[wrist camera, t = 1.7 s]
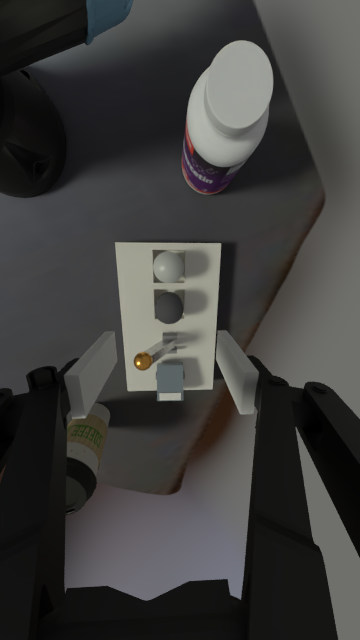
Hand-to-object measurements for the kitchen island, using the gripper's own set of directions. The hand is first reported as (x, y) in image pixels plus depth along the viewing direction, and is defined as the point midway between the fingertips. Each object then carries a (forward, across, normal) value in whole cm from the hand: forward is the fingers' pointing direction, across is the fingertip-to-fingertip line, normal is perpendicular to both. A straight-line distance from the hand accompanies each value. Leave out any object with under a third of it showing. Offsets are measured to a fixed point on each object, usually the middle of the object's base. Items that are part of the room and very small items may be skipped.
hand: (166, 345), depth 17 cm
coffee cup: (+20, -16, -24) cm, 35 cm away
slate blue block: (+14, 0, -13) cm, 19 cm away
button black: (+16, 0, 0) cm, 16 cm away
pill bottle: (+20, +6, +20) cm, 29 cm away
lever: (+16, 0, -6) cm, 17 cm away
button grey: (+16, 0, +6) cm, 17 cm away
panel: (+19, 0, -4) cm, 20 cm away
